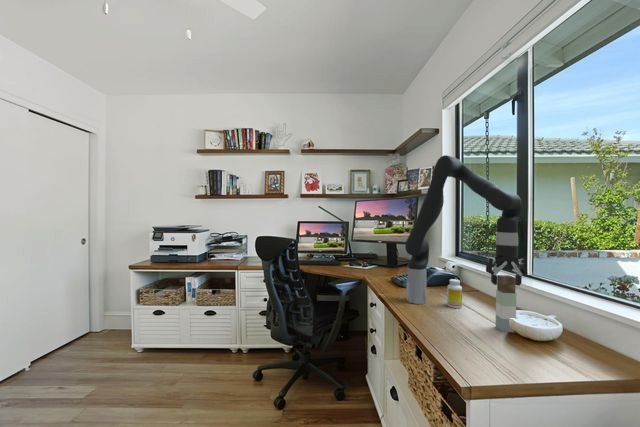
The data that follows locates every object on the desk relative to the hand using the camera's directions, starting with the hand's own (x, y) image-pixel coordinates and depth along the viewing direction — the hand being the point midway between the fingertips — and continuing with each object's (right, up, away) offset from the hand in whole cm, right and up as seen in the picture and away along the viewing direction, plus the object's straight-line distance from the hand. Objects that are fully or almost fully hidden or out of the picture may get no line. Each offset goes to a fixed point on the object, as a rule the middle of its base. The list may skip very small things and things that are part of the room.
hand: (506, 284), depth 115 cm
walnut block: (0, -3, 0) cm, 3 cm away
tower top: (0, -8, 0) cm, 8 cm away
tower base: (0, -18, 0) cm, 18 cm away
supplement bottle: (-7, -18, +28) cm, 34 cm away
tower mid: (0, -13, 0) cm, 13 cm away
